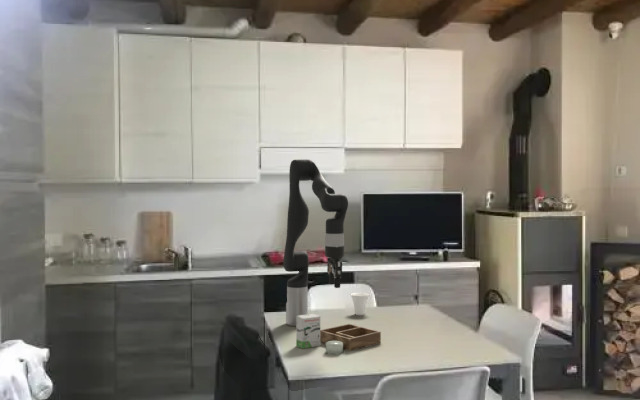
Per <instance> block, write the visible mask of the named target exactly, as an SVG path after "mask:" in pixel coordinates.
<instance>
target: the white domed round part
mask: <svg viewBox="0 0 640 400" xmlns="http://www.w3.org/2000/svg"><path fill="white" fill-rule="evenodd" d="M342 352H343V353H344V349H343V342H341V341H328V342H326V344H325V353H326V354H328V353H329V355H341V354H343V353H342Z"/></svg>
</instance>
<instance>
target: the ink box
mask: <svg viewBox="0 0 640 400" xmlns="http://www.w3.org/2000/svg"><path fill="white" fill-rule="evenodd" d="M295 327H296V335H295V336H296V338H295V339H296V340H295V341H296V343H295V345H296V346H295V347H298V348H301V349H307V348H308V349H309V348H314V347H319V346H320V347H321V342H320V330H321V316H320V315H318V314H315V313H308V315H300V316H297V317H296V326H295Z"/></svg>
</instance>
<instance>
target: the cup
mask: <svg viewBox="0 0 640 400" xmlns="http://www.w3.org/2000/svg"><path fill="white" fill-rule="evenodd" d="M370 295H371V294H370V293H366V292H353V293H351V294H350V296H351V298H352V299H351V300H352V302H353V309H354V310H353V311H354V315H355V314H356V316H365V315H366V313H367V312H366V309H367V302H368V299H369V297H370Z"/></svg>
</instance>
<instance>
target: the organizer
mask: <svg viewBox="0 0 640 400" xmlns="http://www.w3.org/2000/svg"><path fill="white" fill-rule="evenodd" d="M381 333H382V332H381V331H379V330H375V329H371V328H368V327H364V326H361V325H360V326H359V325H356V324H352V323H348V324H342V325H338V326H333V327H327V328H323V329H320V343H322V344H325V345H326V342H328V341H341V342H343V350H346V351H348V352H353V351H354V350H359V349H364V348H366V347H370V346H375V345H379V344H381V340H382V337H381V336H382V334H381Z"/></svg>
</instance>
